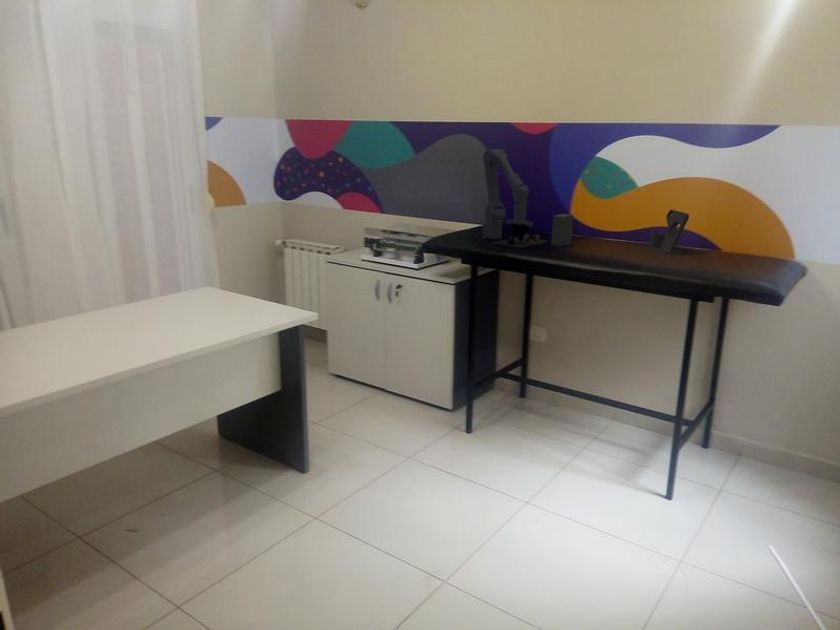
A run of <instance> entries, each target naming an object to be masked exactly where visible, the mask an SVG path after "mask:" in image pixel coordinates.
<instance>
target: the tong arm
mask: <svg viewBox="0 0 840 630" xmlns="http://www.w3.org/2000/svg"><path fill="white" fill-rule="evenodd" d="M513 237H514V236H513ZM508 238H509V244H510V245H512V244H516V243H521V242H525V241H527V236H526V235H524V238H523V240H522V241H519V237H514V238H510V237H508Z"/></svg>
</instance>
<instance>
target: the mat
mask: <svg viewBox="0 0 840 630" xmlns="http://www.w3.org/2000/svg"><path fill="white" fill-rule="evenodd" d="M548 242H550V241H549V240H542V239H539V240H537V241H535V240H532V238H530V241H525V242H521V243H516V244H512V245H510V244H509V245H508V244H506V243H507V238H505V239H502V240H497V241H491V242H490V244H496V245H502V246H510V247H514V248H521V249H522V248H525V247H531V246H535V245H539V244H543V243H548Z"/></svg>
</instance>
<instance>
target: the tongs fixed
mask: <svg viewBox="0 0 840 630" xmlns="http://www.w3.org/2000/svg"><path fill="white" fill-rule="evenodd" d="M525 235H526V236H527V241H530V239H531V234H530V233H525ZM515 237H519V235H518V236H515ZM509 238H514V236H512V237H511V236H510V237H506V239H507V243H506V244H508V245H509Z"/></svg>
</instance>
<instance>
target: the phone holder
mask: <svg viewBox="0 0 840 630" xmlns="http://www.w3.org/2000/svg"><path fill="white" fill-rule="evenodd" d="M689 219H690V214H688V213H686V212H683V211H679V210H675V209H670V210H669V211H668V212H667V214H666V218H665V220H666V224H667V228H668V229H667V231H666V233H653V234H651V236H650V245H649V246H648V248H649V249H651V250H654V251H657V252H658V253H661V254H664V255H683V254H684V255H685V254H686V251H683V250H681V249H678V248H676V245H677V243H678V241H679V239H680V237H681V236H682V235H681V234H682V233H683V231H684V229H685V227H686V225H687V222H688V220H689ZM678 226H679V227H678Z"/></svg>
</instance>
